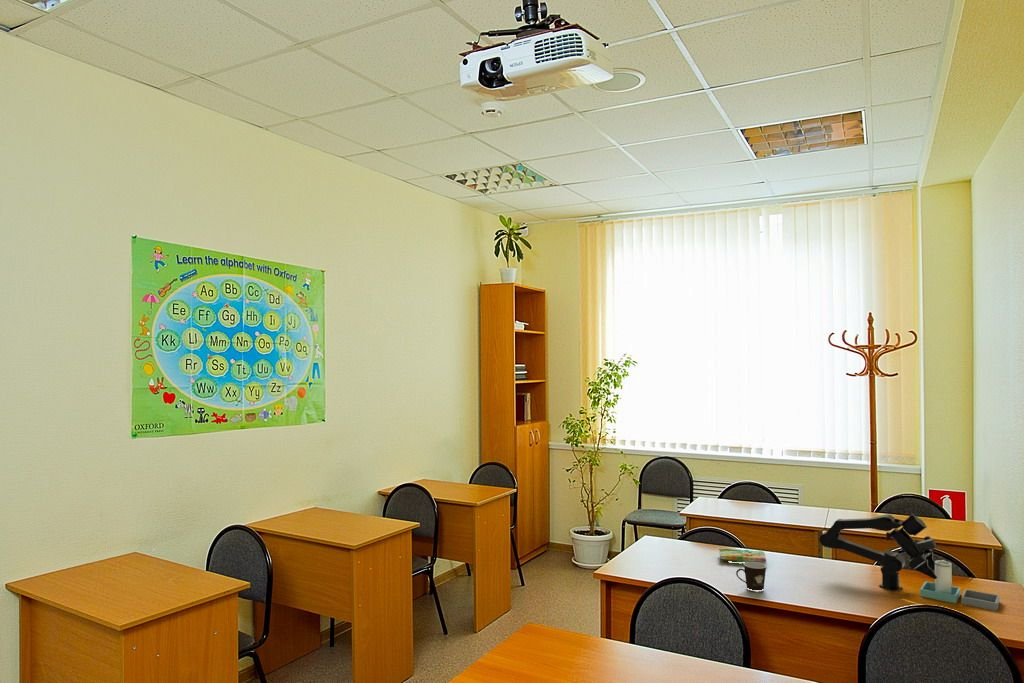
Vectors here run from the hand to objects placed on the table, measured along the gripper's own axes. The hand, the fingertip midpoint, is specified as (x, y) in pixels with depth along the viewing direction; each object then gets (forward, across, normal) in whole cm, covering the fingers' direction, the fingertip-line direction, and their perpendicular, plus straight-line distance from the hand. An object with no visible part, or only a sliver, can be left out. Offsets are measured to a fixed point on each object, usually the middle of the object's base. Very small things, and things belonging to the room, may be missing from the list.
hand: (938, 575), depth 269 cm
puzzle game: (-48, -4, +62) cm, 78 cm away
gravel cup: (+7, 0, +4) cm, 8 cm away
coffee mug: (-36, -38, +49) cm, 72 cm away
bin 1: (+7, 0, +5) cm, 9 cm away
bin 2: (+16, 0, -4) cm, 16 cm away
